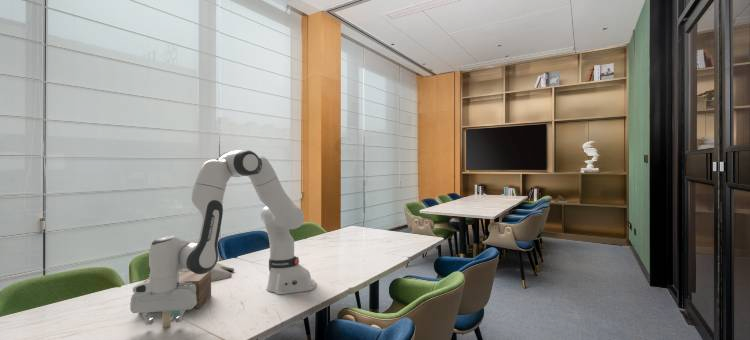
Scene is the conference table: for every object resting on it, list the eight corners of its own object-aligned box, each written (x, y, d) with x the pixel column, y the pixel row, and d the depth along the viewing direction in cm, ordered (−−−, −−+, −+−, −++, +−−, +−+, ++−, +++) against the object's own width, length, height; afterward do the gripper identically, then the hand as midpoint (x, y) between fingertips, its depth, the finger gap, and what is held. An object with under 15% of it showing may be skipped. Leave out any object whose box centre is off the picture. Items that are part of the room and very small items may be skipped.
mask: (175, 257, 178) (235, 253, 186) (175, 273, 178) (235, 269, 186) (162, 267, 159) (230, 263, 167) (162, 286, 159) (230, 281, 167)
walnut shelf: (211, 295, 146) (210, 270, 146) (199, 308, 132) (199, 280, 132) (156, 299, 143) (156, 273, 143) (138, 312, 129) (138, 284, 129)
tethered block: (185, 310, 131) (184, 296, 131) (174, 326, 117) (174, 310, 117) (169, 312, 129) (169, 297, 129) (156, 329, 116) (156, 312, 116)
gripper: (199, 278, 121) (199, 316, 121) (137, 282, 117) (138, 321, 117) (192, 284, 114) (192, 324, 114) (127, 288, 111) (127, 329, 111)
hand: (164, 322), depth 116 cm, fingers open, 8 cm apart
